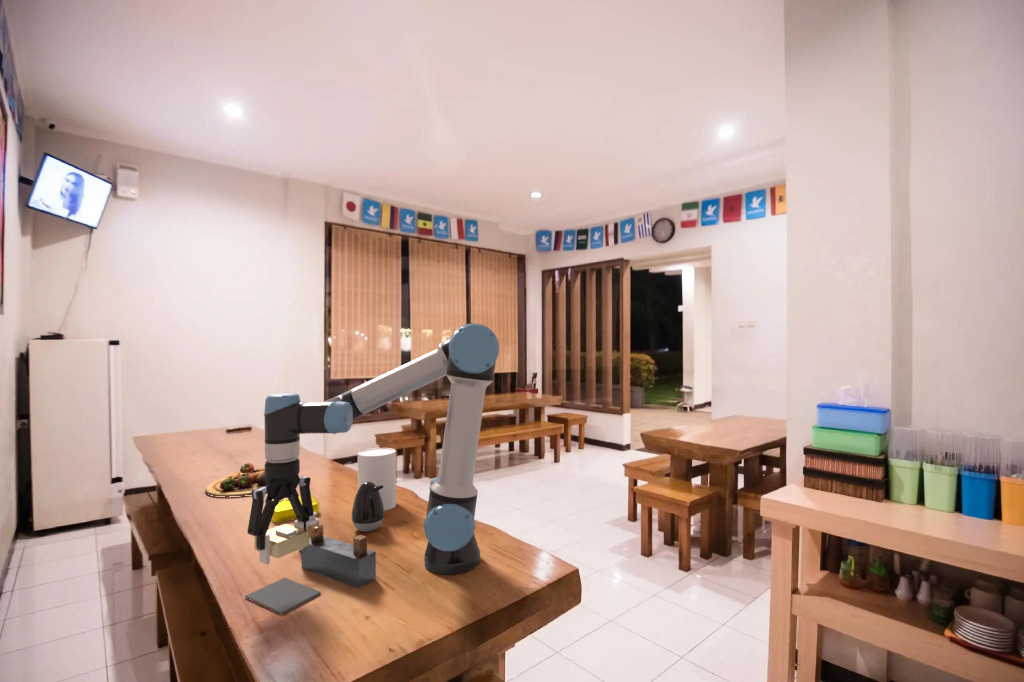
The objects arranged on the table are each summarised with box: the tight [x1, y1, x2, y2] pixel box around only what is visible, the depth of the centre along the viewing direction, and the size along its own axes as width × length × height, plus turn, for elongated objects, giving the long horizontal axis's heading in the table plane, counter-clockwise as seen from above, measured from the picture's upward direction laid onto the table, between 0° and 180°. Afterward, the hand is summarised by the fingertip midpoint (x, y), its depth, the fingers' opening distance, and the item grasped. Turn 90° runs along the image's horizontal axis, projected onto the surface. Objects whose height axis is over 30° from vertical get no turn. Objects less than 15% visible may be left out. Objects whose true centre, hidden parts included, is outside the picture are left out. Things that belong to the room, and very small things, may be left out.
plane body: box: [301, 524, 377, 589], centre depth 123 cm, size 22×6×11 cm, turn 59°
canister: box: [357, 447, 397, 512], centre depth 174 cm, size 14×14×20 cm
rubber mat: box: [244, 577, 322, 616], centre depth 112 cm, size 14×10×1 cm
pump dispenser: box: [351, 482, 385, 533], centre depth 153 cm, size 10×10×15 cm
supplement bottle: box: [299, 512, 320, 552], centre depth 138 cm, size 6×6×10 cm
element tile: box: [271, 493, 320, 523], centre depth 169 cm, size 15×15×5 cm
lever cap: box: [254, 523, 309, 559], centre depth 112 cm, size 9×8×4 cm
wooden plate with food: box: [204, 462, 266, 497], centre depth 201 cm, size 32×32×8 cm
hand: (282, 555), depth 112 cm, fingers closed on lever cap, 8 cm apart
